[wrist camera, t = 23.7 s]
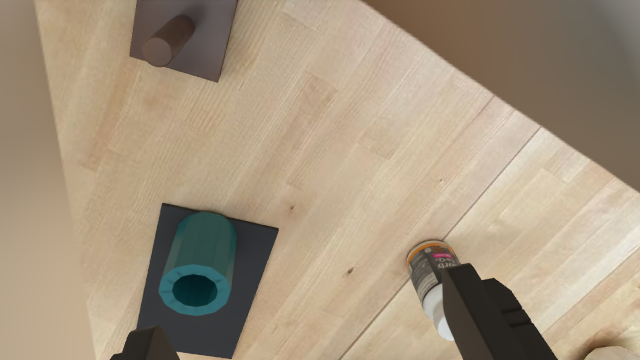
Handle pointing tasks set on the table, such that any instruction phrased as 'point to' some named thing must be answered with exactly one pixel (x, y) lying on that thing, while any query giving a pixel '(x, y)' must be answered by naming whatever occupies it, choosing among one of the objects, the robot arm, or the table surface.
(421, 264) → the pill bottle
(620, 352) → the decorative ball
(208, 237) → the teal hollow cylinder
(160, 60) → the ring toss
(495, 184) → the table surface
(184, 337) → the mat
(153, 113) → the table surface
